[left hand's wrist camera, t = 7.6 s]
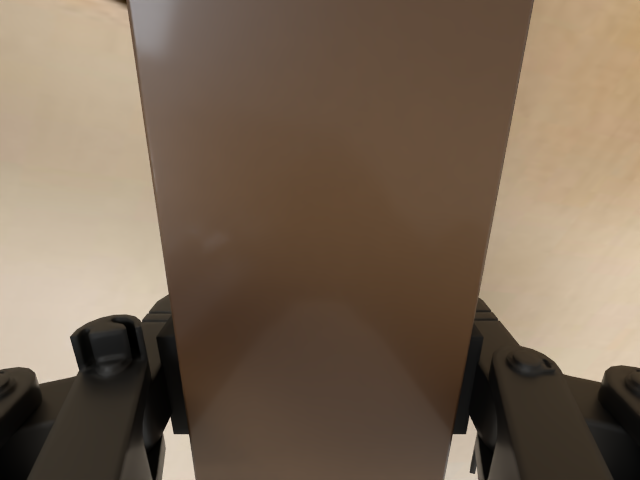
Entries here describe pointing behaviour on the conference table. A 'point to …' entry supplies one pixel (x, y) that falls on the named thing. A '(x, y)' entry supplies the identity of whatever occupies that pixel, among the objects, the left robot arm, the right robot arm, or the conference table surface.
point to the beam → (325, 220)
